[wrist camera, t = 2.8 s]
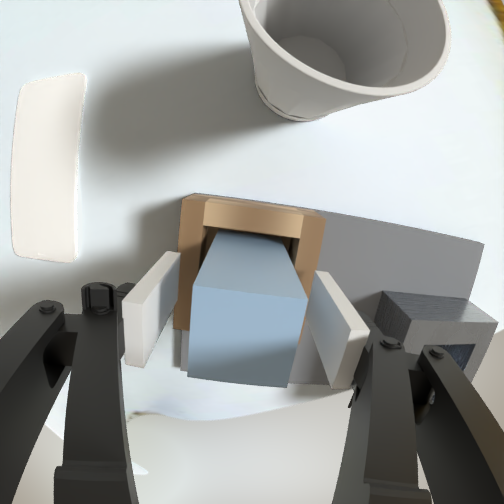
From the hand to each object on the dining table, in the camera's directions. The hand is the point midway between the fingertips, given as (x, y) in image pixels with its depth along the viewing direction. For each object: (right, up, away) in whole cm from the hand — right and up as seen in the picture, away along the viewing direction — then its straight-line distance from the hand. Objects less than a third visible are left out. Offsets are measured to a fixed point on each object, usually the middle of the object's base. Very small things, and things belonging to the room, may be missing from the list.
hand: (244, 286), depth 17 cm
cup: (+4, +14, +2) cm, 14 cm away
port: (+14, -6, +7) cm, 17 cm away
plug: (0, +1, +4) cm, 4 cm away
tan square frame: (0, +1, +5) cm, 5 cm away
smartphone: (-16, +9, +4) cm, 19 cm away
